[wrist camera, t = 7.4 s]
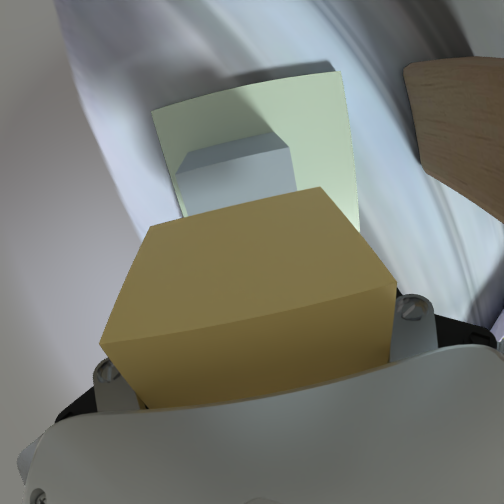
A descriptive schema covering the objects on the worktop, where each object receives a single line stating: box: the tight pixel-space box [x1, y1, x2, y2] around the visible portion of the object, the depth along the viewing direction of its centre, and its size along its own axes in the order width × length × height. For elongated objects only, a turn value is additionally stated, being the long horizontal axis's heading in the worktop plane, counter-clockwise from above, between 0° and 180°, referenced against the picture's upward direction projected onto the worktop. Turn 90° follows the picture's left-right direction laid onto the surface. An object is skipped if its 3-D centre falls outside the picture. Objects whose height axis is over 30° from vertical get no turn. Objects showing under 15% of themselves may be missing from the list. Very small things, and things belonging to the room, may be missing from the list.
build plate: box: [151, 71, 360, 233], centre depth 23 cm, size 14×14×1 cm
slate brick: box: [175, 132, 297, 216], centre depth 21 cm, size 6×6×6 cm
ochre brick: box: [99, 186, 397, 409], centre depth 10 cm, size 6×6×6 cm
